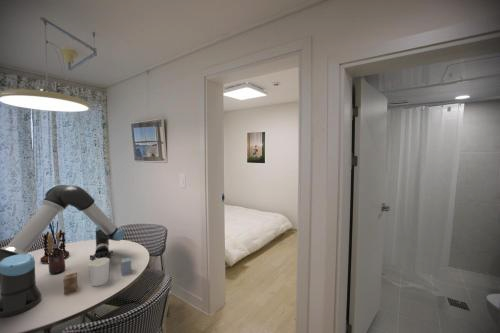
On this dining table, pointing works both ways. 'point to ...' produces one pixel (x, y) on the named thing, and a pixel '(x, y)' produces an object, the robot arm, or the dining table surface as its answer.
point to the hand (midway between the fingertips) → (100, 265)
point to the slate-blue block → (125, 266)
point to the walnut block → (70, 283)
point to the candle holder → (99, 271)
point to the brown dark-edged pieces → (50, 244)
